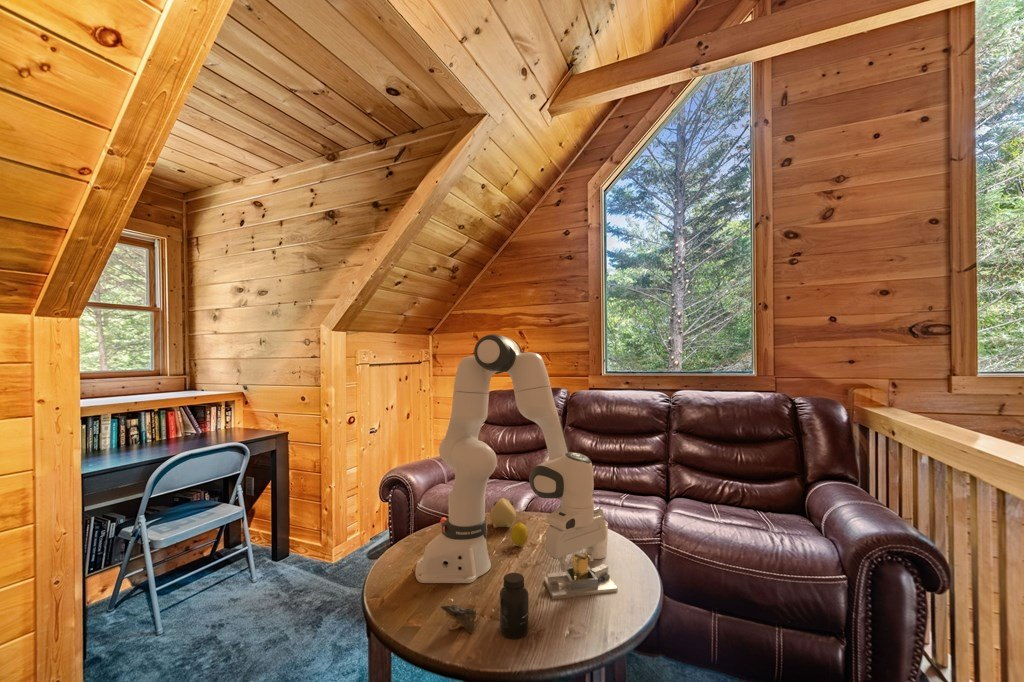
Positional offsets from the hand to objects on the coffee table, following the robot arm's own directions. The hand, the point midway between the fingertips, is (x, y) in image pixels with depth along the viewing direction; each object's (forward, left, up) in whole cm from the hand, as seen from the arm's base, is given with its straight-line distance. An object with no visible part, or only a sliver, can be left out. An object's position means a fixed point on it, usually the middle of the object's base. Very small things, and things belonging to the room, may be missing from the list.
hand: (577, 565), depth 113 cm
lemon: (-11, +28, -7) cm, 30 cm away
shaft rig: (+1, +1, -6) cm, 7 cm away
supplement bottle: (-20, -13, -7) cm, 25 cm away
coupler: (+1, +1, -5) cm, 6 cm away
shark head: (-33, -10, -7) cm, 35 cm away
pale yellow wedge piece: (-14, +45, -7) cm, 47 cm away
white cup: (+12, +18, -7) cm, 22 cm away
